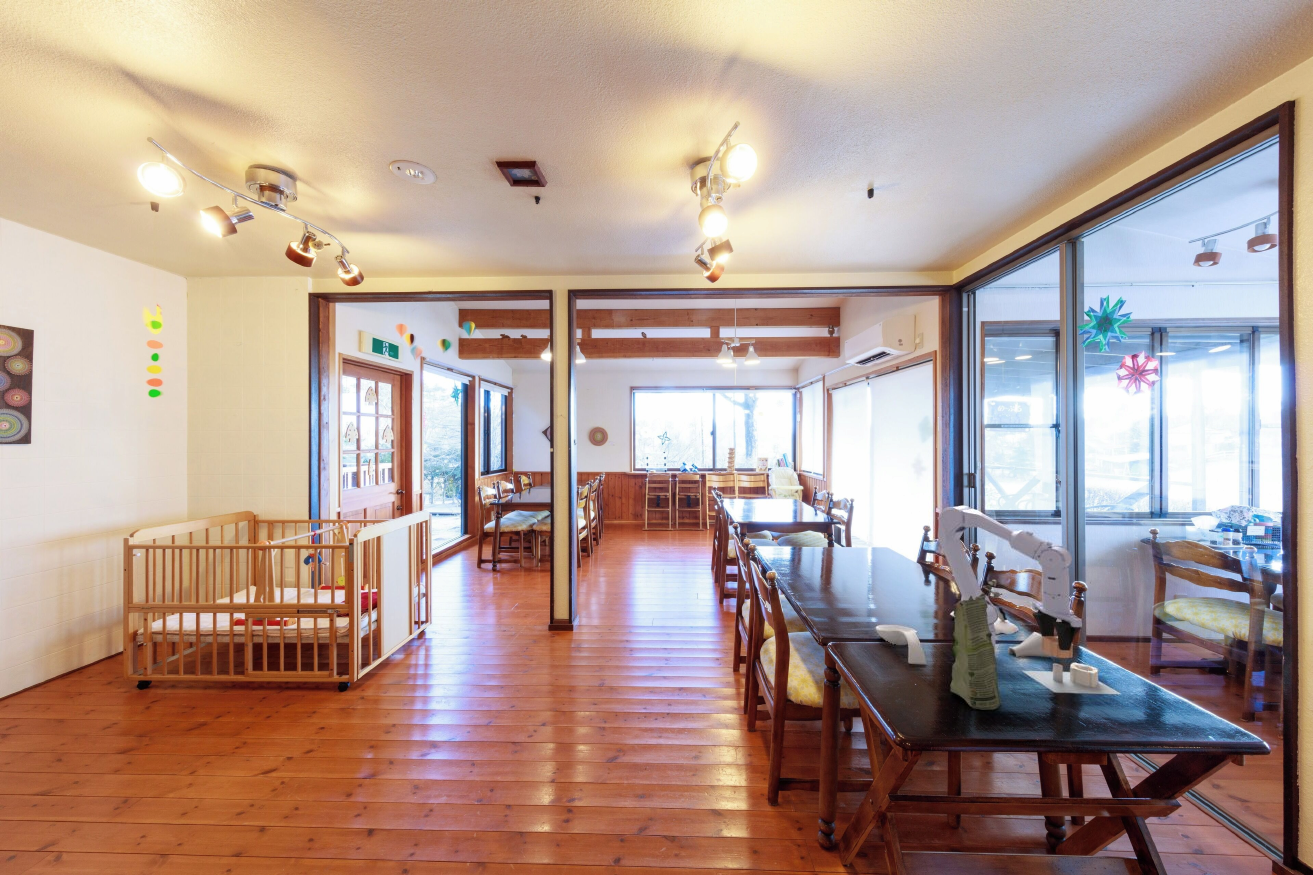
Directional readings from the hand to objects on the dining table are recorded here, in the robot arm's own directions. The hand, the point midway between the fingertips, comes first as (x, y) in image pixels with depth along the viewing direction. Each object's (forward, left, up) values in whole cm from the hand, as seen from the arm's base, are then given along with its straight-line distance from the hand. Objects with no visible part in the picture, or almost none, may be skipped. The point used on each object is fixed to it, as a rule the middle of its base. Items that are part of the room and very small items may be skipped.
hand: (1056, 645), depth 132 cm
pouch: (-27, -11, -10) cm, 31 cm away
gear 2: (+6, -2, -9) cm, 10 cm away
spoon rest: (-31, +20, -10) cm, 38 cm away
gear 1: (0, 0, -2) cm, 2 cm away
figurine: (+7, +44, -10) cm, 46 cm away
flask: (+8, +16, -6) cm, 19 cm away
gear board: (+2, -2, -10) cm, 10 cm away
